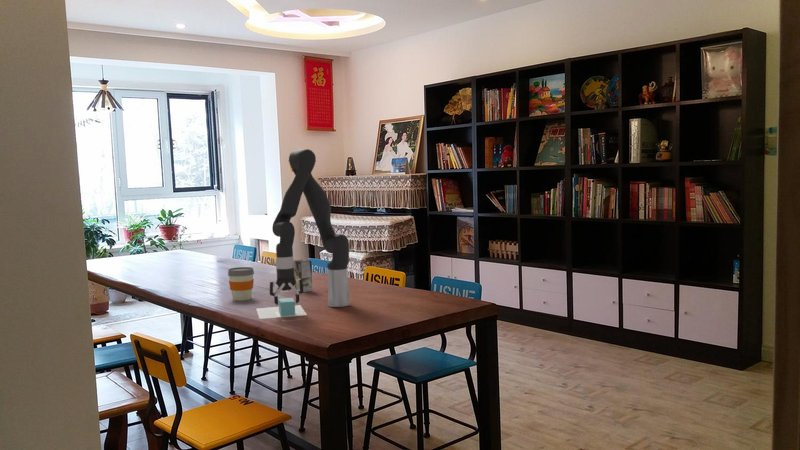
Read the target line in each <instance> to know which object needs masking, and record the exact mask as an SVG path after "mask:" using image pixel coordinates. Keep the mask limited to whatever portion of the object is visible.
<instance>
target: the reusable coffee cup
mask: <svg viewBox="0 0 800 450" xmlns="http://www.w3.org/2000/svg"><path fill="white" fill-rule="evenodd" d="M254 274H255V272H254V268H253V267H249V266H242V267H241V266H239V267H232V268H228V271H227V275H228V278H229V280H228V284H229V290H230V291H231V296H232V300H233V301H248V300H250V299H252V295H253V289H254V281H255V279H254Z"/></svg>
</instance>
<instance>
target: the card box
mask: <svg viewBox="0 0 800 450" xmlns="http://www.w3.org/2000/svg"><path fill="white" fill-rule="evenodd" d="M295 305H296V300H295V299H294V298H293V297H286V298H282V297H281V298H278V307H279V313H280V315H281V317H280V318H283V317H282V316H290V317H295V316H294V315H295Z"/></svg>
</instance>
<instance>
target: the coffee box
mask: <svg viewBox="0 0 800 450" xmlns="http://www.w3.org/2000/svg"><path fill="white" fill-rule="evenodd" d="M312 273H313V270H312V260H309V259H304V258H303V259H296V260H295V259H294V275H295V280H298V279H302V283H303V293H307V292H313V274H312ZM294 287H295V288H296V289H297V291H299V290H300V287H299V284H298V283H297V282H296V283H295V285H294Z"/></svg>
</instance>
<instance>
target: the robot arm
mask: <svg viewBox="0 0 800 450" xmlns="http://www.w3.org/2000/svg"><path fill="white" fill-rule="evenodd" d="M316 159H317V157H316V155H315V152H314V151H312V150H311V149H308V148H307V149H306V148H301V149H295V150H292V151H291V152H290V153H289V156H288V162H289V165H290V168H291V170H292V171H293V173H294V178H293V181H292V182H291V184H290V185H289V187H288V188H287V189H286V192H285V194H284V195H283V200H282V203H281V206H280V209H279V211H278V213H277V215H276V217H275V219H274V221H273V223H272V226H271V227H272V228H271V229H272V233H273V235H274V236H276V237H279V242H278V243H277V244H276V246H275V253H276V254H275V255H276V258H275V259H276V262H275V266H276V267H275V268H276V280H275V281H272V280H270V281H269V295H270V296H272V297H273V300H274V301H273V302H274V305H276V306H279V297H278V295H279V294H280V292H281V291H291V290H293V292H294V293H295V304H299V302H300V295H301V294H302V293H304V292H303V283H302V279H298V280H295V275H294V260H295V259H294V251H293V246H294V240H295V235H296V230H295V226H294V224H293V223H292V222H291V219H292V218H294V217H295V216H296V214H297V212H298V209H299V205H300V201H301V198H302V195H303V196H304V197H305V200H306V202H307V205H308V207H309V210H310V212H311V214H312V217H313V220H314V222H315V224H316V227H317V230H318V233H319V236H320V241H321V243H322V247H323V248H324V250H325V251H326V252H327V253H329V254H332V257H331V258H332V259H331V260H330V261H328V262H327V263H326V264H327V265H326V266H327V268H326V269H327V270H326V271H327V299H328V300H327V301H328V302H327V303H328V307H332V308H343V307H348V306H349V307H350V286H349V281H348V275H349V274H348V264H349V261H350V242H349V239H348V237H347V236H346V235H345V234H342V233H336V232H335V230H334V228H333V225H332V221H331V215H332V206H331V203H330V200H329V198H328V195H327V192H325V190H324V189H323V187H322V186H321V185H320V184H319V183H318V182H317V181H316V178H314V176H313V174H312V171H313V169H314V167H315V165H316V162H317V160H316ZM296 282H297V283H298V284H299V287H300V290H299V291H297V289H296V288H295V283H296ZM275 285H276V286H277V288H276V290H275V292H274V287H275Z"/></svg>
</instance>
